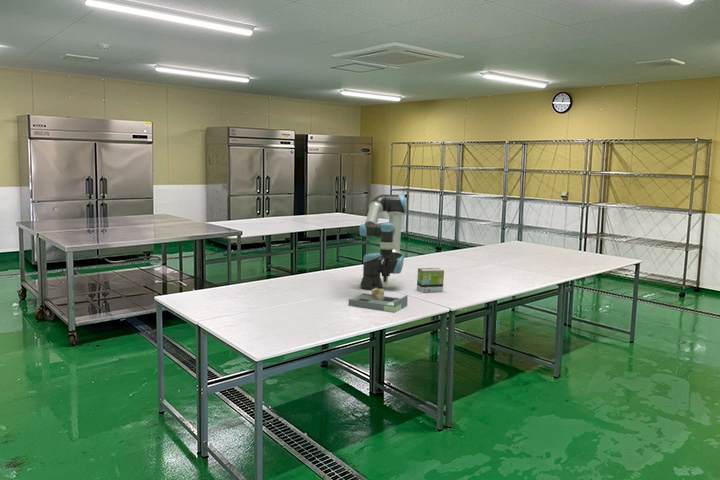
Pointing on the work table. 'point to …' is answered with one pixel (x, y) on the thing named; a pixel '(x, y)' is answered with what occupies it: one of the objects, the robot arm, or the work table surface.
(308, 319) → the work table surface
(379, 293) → the block
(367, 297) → the board
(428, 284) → the tea box
